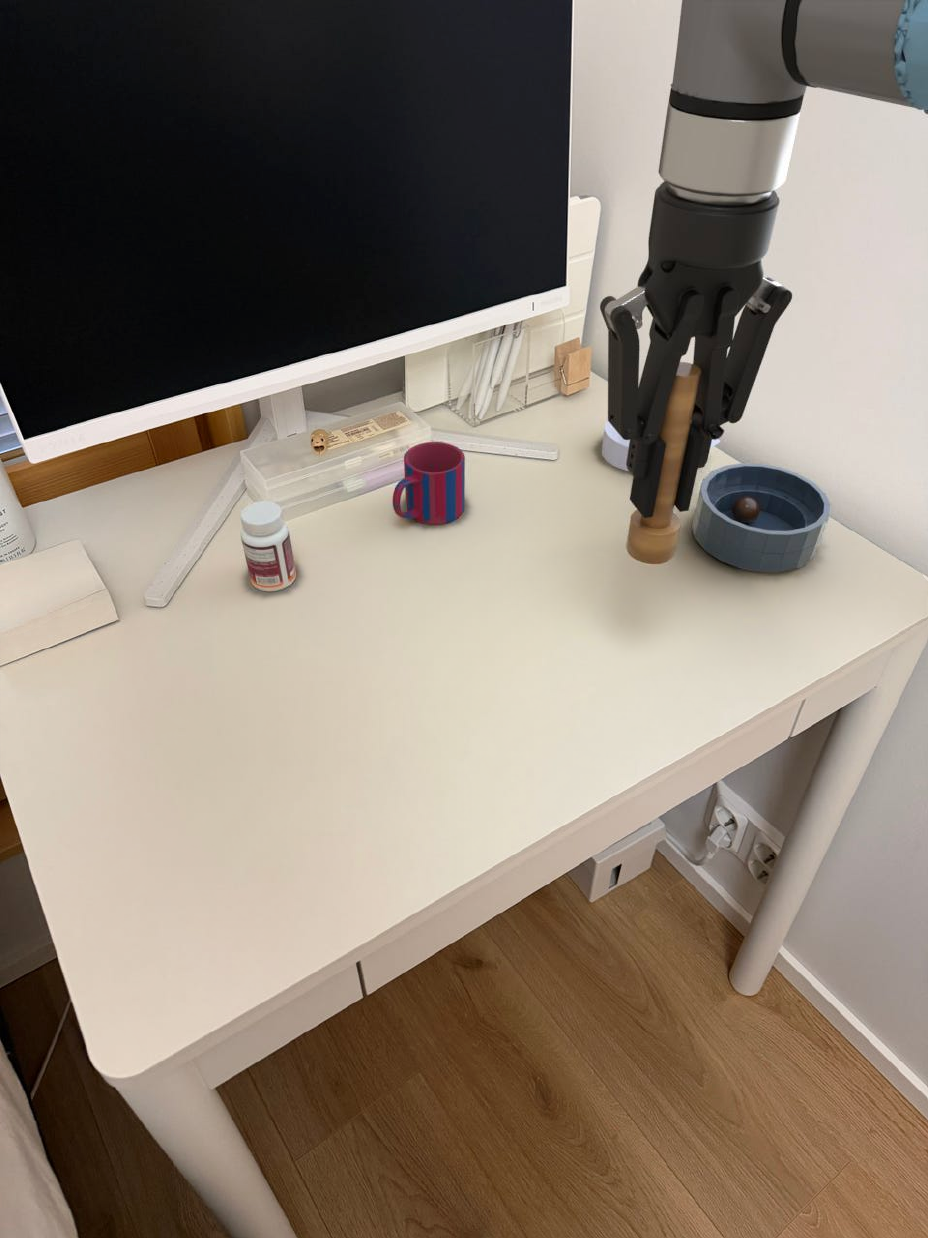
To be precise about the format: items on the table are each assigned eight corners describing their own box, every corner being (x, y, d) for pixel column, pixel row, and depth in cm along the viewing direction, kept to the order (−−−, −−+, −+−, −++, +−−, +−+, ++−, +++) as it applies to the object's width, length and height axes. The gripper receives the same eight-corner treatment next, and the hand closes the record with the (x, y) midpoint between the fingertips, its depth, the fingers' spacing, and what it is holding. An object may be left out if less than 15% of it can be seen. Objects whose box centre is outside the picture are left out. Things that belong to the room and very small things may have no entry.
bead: (761, 526, 96) (768, 504, 94) (737, 530, 95) (743, 508, 93) (747, 511, 98) (754, 489, 96) (724, 515, 97) (729, 493, 95)
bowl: (840, 564, 92) (856, 522, 88) (727, 586, 89) (739, 543, 85) (774, 496, 101) (786, 455, 97) (670, 513, 98) (679, 472, 95)
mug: (476, 508, 99) (477, 457, 94) (412, 545, 94) (410, 493, 89) (436, 485, 102) (435, 434, 98) (372, 519, 97) (368, 468, 93)
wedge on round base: (715, 465, 106) (629, 427, 113) (726, 416, 102) (636, 380, 108) (674, 494, 101) (587, 453, 108) (684, 444, 97) (592, 405, 103)
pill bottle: (277, 558, 92) (265, 492, 86) (305, 577, 90) (295, 511, 84) (240, 578, 89) (226, 512, 84) (269, 599, 87) (256, 532, 81)
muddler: (683, 559, 70) (723, 378, 59) (638, 568, 69) (671, 385, 59) (661, 531, 73) (696, 353, 62) (618, 539, 72) (645, 360, 61)
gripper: (795, 159, 57) (722, 466, 73) (578, 178, 53) (551, 494, 69) (864, 192, 51) (769, 515, 67) (628, 215, 48) (586, 548, 64)
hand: (659, 504), depth 68 cm, fingers closed on muddler, 2 cm apart
